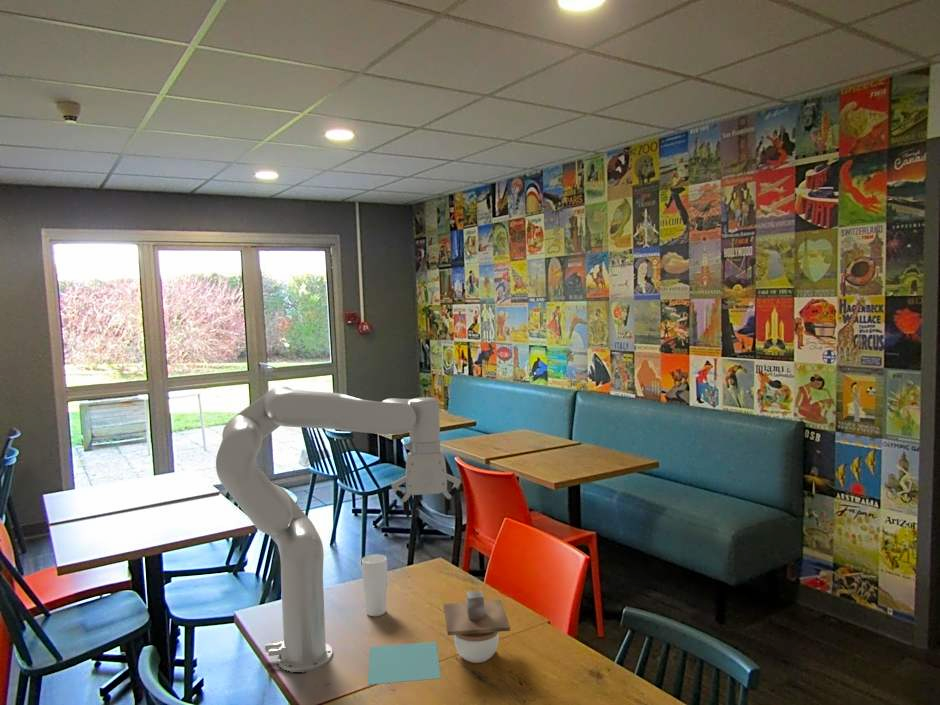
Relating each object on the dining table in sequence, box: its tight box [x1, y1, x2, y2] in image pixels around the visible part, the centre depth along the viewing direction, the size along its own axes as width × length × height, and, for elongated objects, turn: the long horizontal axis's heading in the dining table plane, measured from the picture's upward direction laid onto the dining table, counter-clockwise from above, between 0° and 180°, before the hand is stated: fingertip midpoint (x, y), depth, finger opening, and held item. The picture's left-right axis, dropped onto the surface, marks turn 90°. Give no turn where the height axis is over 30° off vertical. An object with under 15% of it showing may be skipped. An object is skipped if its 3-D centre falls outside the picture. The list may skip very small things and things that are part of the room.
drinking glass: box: [361, 553, 388, 617], centre depth 175 cm, size 7×7×15 cm
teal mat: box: [367, 641, 442, 686], centre depth 150 cm, size 16×16×1 cm
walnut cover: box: [443, 590, 511, 636], centre depth 151 cm, size 14×14×6 cm
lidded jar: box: [453, 632, 500, 664], centre depth 152 cm, size 11×11×9 cm
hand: (427, 514), depth 163 cm, fingers open, 9 cm apart
